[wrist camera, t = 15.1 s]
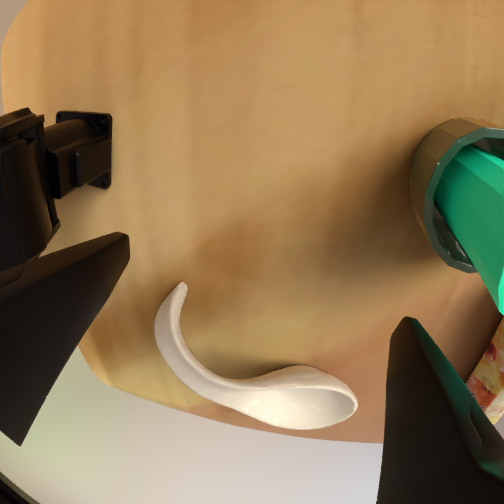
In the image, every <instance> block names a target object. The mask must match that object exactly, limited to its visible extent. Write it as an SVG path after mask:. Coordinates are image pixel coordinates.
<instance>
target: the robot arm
mask: <svg viewBox="0 0 504 504" xmlns="http://www.w3.org/2000/svg"><path fill="white" fill-rule="evenodd" d="M105 118H106V119H107V122H106V121H105ZM43 122H45V121H44V114H43V115H36V114H34V113H32V112H31V111H30V109H29V108H28V107H27V108H23V109H20V110H17V111H13V112H10V113H8V114H5V115H2V116H0V431H1V432H3V433H4V434H5V435H6V436H7V437H9V438H10V439H11V440H12V441H13V442H15V443H16V444H17V445H18V446H21V445H22V443H23V441H24V439H25V437H26V435H27V433H28V431H29V429H30V427H31V425H32V423H33V421H34V419H35V418H36V416H37V414H38V412H39V410H40V408H41V406H42V404H43V403H44V401H45V399H46V396H47V395H48V393H49V392H50V390H51V388H52V386H53V385H54V383H55V381H56V379H57V378H58V376H59V374H60V373H61V371H62V369H63V367H64V366H65V364H66V363H67V361H68V359H69V358H70V356H71V354H72V353H73V351H74V349H75V348H76V346H77V345H78V343H79V342H80V340H81V339H82V337H83V335H84V334H85V332H86V331H87V329H88V328H89V326H90V325H91V323H92V322H93V320H94V319H95V317H96V316H97V314H98V313H99V311H100V310H101V308H102V307H103V305H104V304H105V302H106V301H107V299H108V298H109V296H110V294H111V293H112V291H113V289H114V287H115V285H116V284H117V282H118V280H119V278H120V276H121V275H122V273H123V271H124V269H125V268H126V266H127V264H128V262H129V259H130V245H129V237H128V235H127V234H124V233H121V232H114V233H111V234H108V235H104V236H101V237H98V238H95V239H92V240H89V241H86V242H83V243H80V244H77V245H74V246H71V247H68V248H65V249H62V250H59V251H56V252H53V253H51V254H48V255H45V256H42V257H39V256H40V254H41V253H42V252H43V251H44V250H45V248H46V247H47V244H48V243H49V241H50V240H51V239H52V237H53V236H54V234H55V233H56V232H57V230H58V229H59V228H60V226H61V225H60V221H59V219H58V217H57V212H56V208H55V203H54V201H55V200H56V199H61V198H63V197H64V196H66V195H67V194H69V193H71V192H72V191H74V190H76V189H77V188H81V187H82V186H84V185H86V184H87V185H91V186H95V187H99V188H103V189H106V188H108V187H109V186H110V185H111V143H112V142H111V138H112V116H111V115H110V114H108V113H96V112H82V111H59V112H58V113H57V114H56V124H54V125H51V126H48V127H45V128H44V124H43ZM104 181H105V182H106V184H105V182H104ZM38 257H39V258H38ZM0 504H40V503H38V502H37V501H36V500H34V499H33V498H32V497H30V496H29V495H28V494H26V493H25V492H24V491H23V490H21V489H20V488H19V487H17V486H16V485H15V484H14V483H13V482H12V481H10V480H9V479H8V478H7V477H6V476H5V475H3V474H2V473H1V472H0ZM376 504H504V439H503V438H502V436H501V435H500V434H499V432H498V431H497V430H496V428H495V427H494V425H493V424H492V423H491V421H490V420H489V419H488V417H487V416H486V414H485V413H484V411H483V410H482V408H481V407H480V405H479V404H478V402H477V401H476V399H475V398H474V397H473V395H472V393H471V392H470V391H469V389H468V388H467V386H466V385H465V383H464V382H463V380H462V379H461V378H460V376H459V375H458V373H457V372H456V371H455V369H454V368H453V366H452V365H451V364H450V362H449V361H448V360H447V358H446V357H445V355H444V354H443V353H442V351H441V350H440V349H439V347H438V346H437V345H436V343H435V342H434V341H433V340H432V338H431V337H430V336H429V334H428V333H427V332H426V330H425V329H424V328H423V327H422V325H421V324H420V323H419V322H418V320H417V319H415V318H411V317H408V316H406V317H404V318H403V319H402V320H401V322H400V323H399V325H398V326H397V328H396V329H395V330H394V332H393V333H392V335H391V339H390V349H389V360H388V369H387V380H386V410H385V429H384V443H383V455H382V465H381V474H380V481H379V489H378V496H377V501H376Z"/></svg>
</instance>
